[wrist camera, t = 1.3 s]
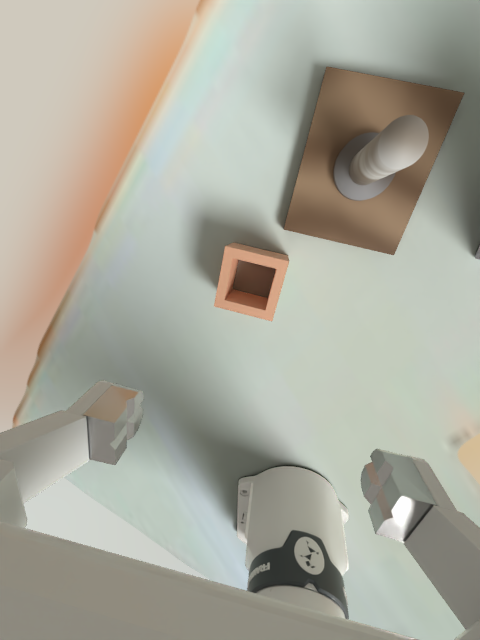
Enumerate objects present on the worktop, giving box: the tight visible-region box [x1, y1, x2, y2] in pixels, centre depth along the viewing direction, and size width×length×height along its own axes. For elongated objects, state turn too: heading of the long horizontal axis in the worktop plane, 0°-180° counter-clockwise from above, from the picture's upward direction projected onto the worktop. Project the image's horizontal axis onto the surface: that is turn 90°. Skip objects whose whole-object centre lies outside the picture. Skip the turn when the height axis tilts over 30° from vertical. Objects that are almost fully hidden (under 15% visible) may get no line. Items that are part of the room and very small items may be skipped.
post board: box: [284, 67, 464, 255], centre depth 22 cm, size 14×12×10 cm
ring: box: [214, 243, 289, 321], centre depth 29 cm, size 7×7×5 cm
